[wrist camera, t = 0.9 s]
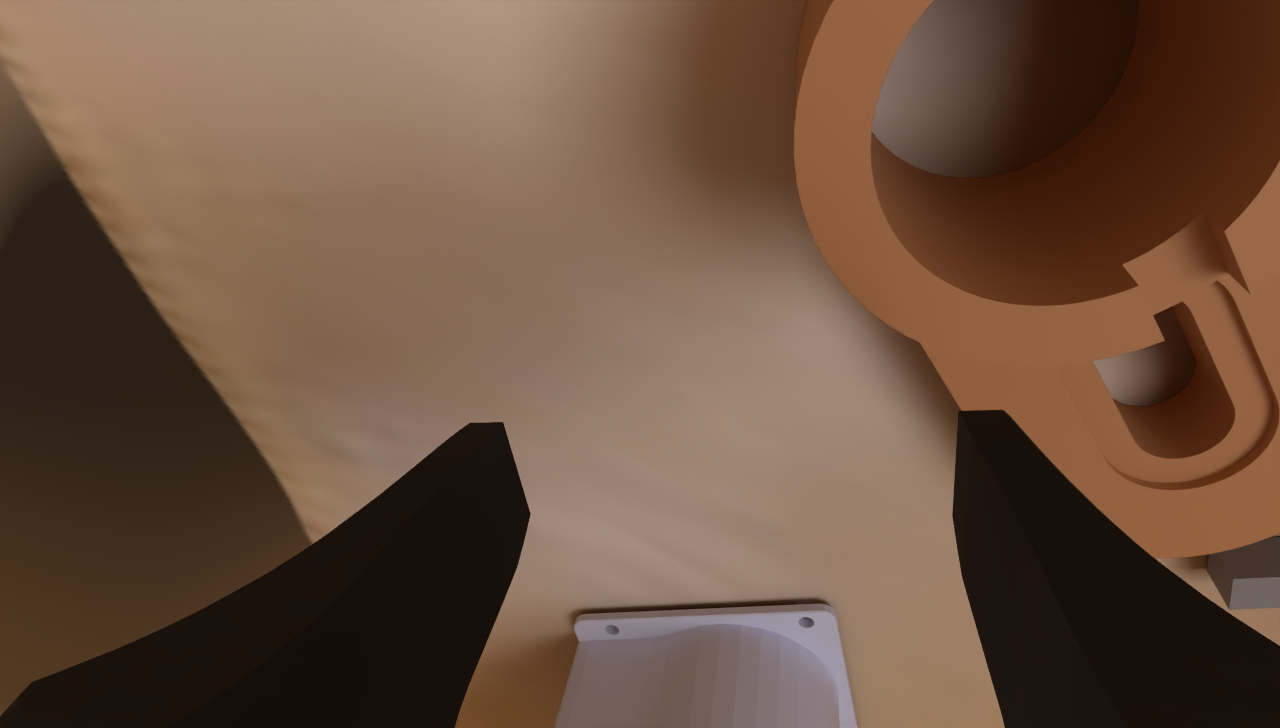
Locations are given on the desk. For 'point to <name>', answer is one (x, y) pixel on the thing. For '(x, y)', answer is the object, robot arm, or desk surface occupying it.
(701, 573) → the desk surface
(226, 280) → the desk surface
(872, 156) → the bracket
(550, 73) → the desk surface
